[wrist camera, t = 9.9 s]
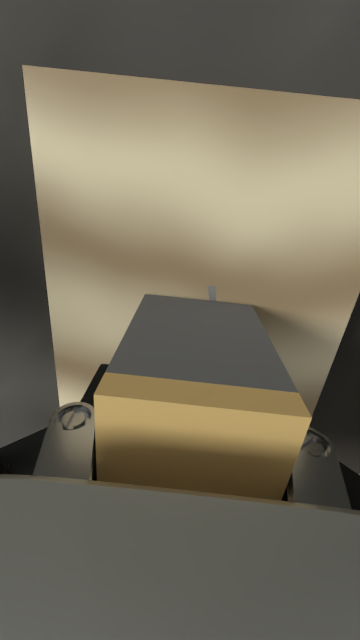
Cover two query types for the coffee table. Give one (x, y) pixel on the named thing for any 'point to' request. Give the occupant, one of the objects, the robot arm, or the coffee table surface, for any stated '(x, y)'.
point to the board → (194, 211)
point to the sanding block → (198, 403)
